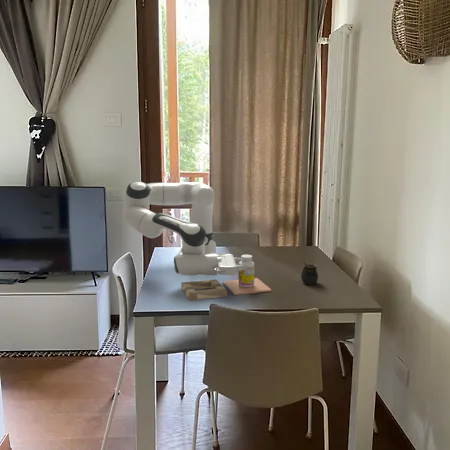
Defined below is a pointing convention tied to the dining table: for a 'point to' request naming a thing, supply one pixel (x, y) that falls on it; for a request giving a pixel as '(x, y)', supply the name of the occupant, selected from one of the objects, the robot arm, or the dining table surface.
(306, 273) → the mate gourd
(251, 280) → the supplement bottle
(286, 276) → the dining table surface
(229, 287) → the terracotta tile
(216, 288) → the frame
